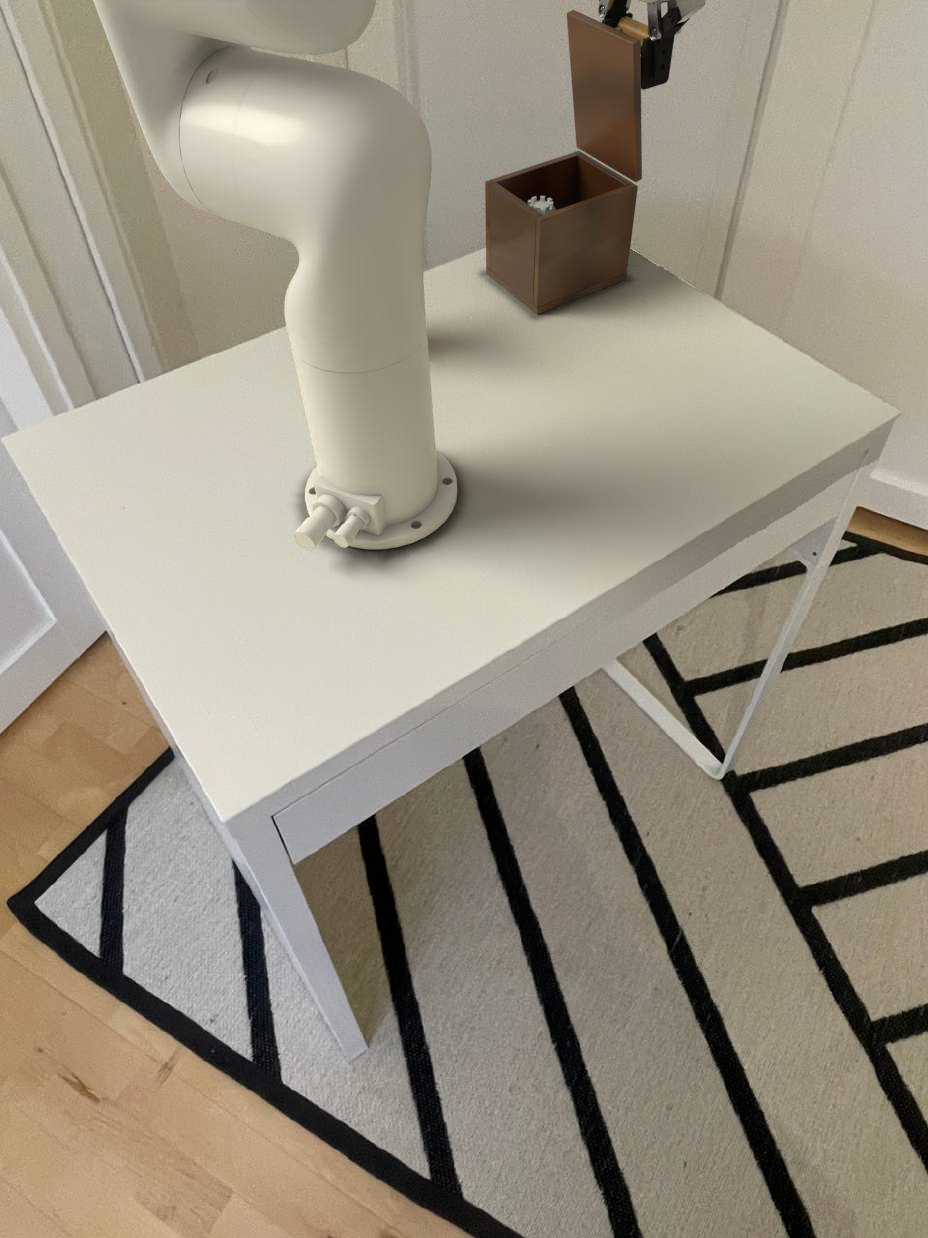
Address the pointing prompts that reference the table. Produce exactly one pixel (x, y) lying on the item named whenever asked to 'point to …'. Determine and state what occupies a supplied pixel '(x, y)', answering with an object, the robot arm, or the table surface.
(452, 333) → the table surface
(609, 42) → the lid
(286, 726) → the table surface
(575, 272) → the chest
